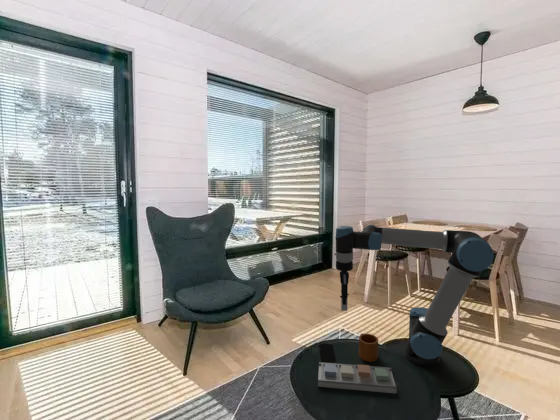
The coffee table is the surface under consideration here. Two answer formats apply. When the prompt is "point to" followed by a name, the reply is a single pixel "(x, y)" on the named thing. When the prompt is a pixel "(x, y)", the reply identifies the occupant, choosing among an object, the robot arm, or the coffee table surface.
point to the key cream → (346, 371)
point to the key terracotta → (364, 371)
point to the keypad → (356, 380)
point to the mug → (368, 347)
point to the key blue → (330, 370)
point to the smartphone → (327, 353)
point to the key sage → (381, 374)
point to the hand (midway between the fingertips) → (344, 309)
